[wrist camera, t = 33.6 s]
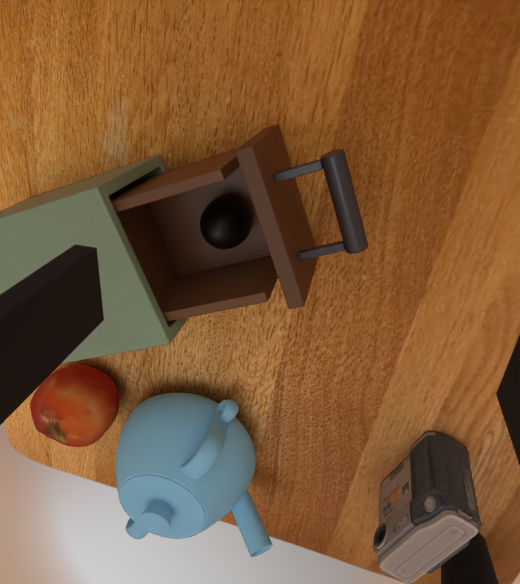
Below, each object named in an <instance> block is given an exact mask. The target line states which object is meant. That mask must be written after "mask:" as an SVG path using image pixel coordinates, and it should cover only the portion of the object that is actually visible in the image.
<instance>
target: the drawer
mask: <svg viewBox="0 0 520 584" xmlns="http://www.w3.org/2000/svg"><path fill="white" fill-rule="evenodd" d="M322 169H324V173H325V176H326V180H327V184H328V187H329V191H330V195H331V198H332V202H333V206H334V209H335V213H336V217H337V220H338V224H339V228H340V231H341V235H342V239H343V241H339V242H335V243H330V244H326V245H322V246H317V247H315V244H314V241H313V238H312V234H311V231H310V228H309V224H308V221H307V218H306V214H305V211H304V208H303V204H302V201H301V198H300V194H299V191H298V188H297V184H296V181H295V178H294V177H297V176H301V175H304V174H308V173H311V172H315V171H318V170H322ZM222 196H233V197H236V198H238V199H240V200H242V201H243V202H244V203H245V204H246V205H247V206H248V208H249V210H250V212H251V215H252V228H251V231H250V233H249V235H248V237H247V238H246V239H245V240H244V241H243V242H242V243H241V244H240V245H238V246H236V247H234V248H230V249H218V248H215V247H213V246H211V245H210V244H208V243H207V242H206V241H205V239H204V238H203V236H202V233H201V230H200V219H201V215H202V213H203V211H204V209H205V207H206V206H207V205H208V204H209V203H210V202H211V201H213V200H214V199H216V198H218V197H222ZM109 199H110V201H111V203H112V205H113V207H114V209H115V212H116V214H117V216H118V218H119V220H120V222H121V225H122V227H123V229H124V231H125V233H126V236H127V238H128V240H129V242H130V244H131V246H132V249H133V251H134V253H135V255H136V257H137V259H138V262H139V264H140V266H141V268H142V270H143V272H144V275H145V277H146V279H147V281H148V283H149V285H150V288H151V290H152V292H153V294H154V296H155V298H156V301H157V303H158V305H159V307H160V309H161V312H162V314H163V316H164V318H165V320H166V322H167V321H172V320H177V319H182V318H187V317H192V316H197V315H202V314H207V313H212V312H217V311H222V310H227V309H233V308H238V307H243V306H248V305H253V304H258V303H263V302H267V301H268V300H269V297H270V295H271V293H272V290H273V288H274V286H275V283H276V281H277V279H278V278H279V281H280V284H281V287H282V290H283V293H284V296H285V299H286V302H287V305H288V308H289V309H292V308H297V307H302V306H305V302H306V298H307V295H308V291H309V288H310V284H311V281H312V277H313V274H314V270H315V267H316V263H317V260H318V256H322V255H327V254H331V253H336V252H340V251H344V250H345V249H346V252H347V253H349V254H354V253H359V252H362V251H364V250H366V249H367V248H368V243H367V239H366V235H365V231H364V227H363V223H362V219H361V215H360V211H359V207H358V203H357V199H356V195H355V191H354V187H353V183H352V179H351V175H350V171H349V168H348V164H347V160H346V156H345V152H344V150H343V149H340V150H335V151H331V152H328V153H326V154H324V155H322V156H321V159H319V160H315V161H312V162H309V163H305V164H302V165H298V166H295V167H292V168H291V164H290V161H289V158H288V154H287V151H286V148H285V144H284V141H283V138H282V134H281V131H280V128H279V125H278V124H277V125H274V126H271V127H268V128H265V129H264V130H262V131H261V132H260V133H258V134H257V135H256V136H254V137H253V138H252V139H250V140H249V141H248V142H247V143H245V144H244V145H243V146H241V147H240V148H238V149H235V150H232V151H229V152H226V153H222V154H219V155H216V156H213V157H210V158H207V159H204V160H200V161H197V162H194V163H191V164H188V165H185V166H182V167H179V168H175V169H172V170H169V171H166V172H163V173H160V174H157V175H153V176H150V177H147V178H144V179H141V180H138V181H135V182H133V183H131V184H130V185H128V186H126V187H124V188H123V189H121V190H119V191H117V192H116V193H114V194H112V195H111V196H109Z"/></svg>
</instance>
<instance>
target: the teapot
mask: <svg viewBox="0 0 520 584" xmlns="http://www.w3.org/2000/svg"><path fill="white" fill-rule="evenodd" d="M238 411H239V407H238V405H237V403H236V402H235V401H234V400H230V399H226V400H223V401H222V402H221V403H220V404H219V403H217V402H216V401H214V400H211V399H209V398H207V397H204V396H201V395H197V394H191V393H179V392H177V393H165V394H160V395H156V396H153V397H150V398H149V399H147V400H145V401H143V402H142V403H140V404H139V405H138V406H136V407H135V408H134V410H133V411H132V412H131V414H130V415H129V417H128V419H127V420H126V422H125V424H124V426H123V429H122V431H121V434H120V437H119V441H118V445H117V452H116V481H117V489H118V494H119V499H120V502H121V505H122V507H123V509H124V510H125V512H126V513H127V514H128V516H129V517H130V519H129V521H128V523H127V525H126V531H127V533H128V534H129V535H130V536H131V537H133V538H135V539H142V538H143V537H145V536H146V535H147V534H148V532H150V533H152V534H156V535H159V536H162V537H167V538H174V539H180V538H188V537H192V536H194V535H196V534H198V533H200V532H202V531H204V530H206V529H207V528H209V527H210V526H211V525H213V524H214V523H216V522H217V521H218V520H220V519H221V518H222V517H224V516H225V515H226V514H227V513H228V512H230V511H232V513H233V515H234V518H235V520H236V522H237V525H238V527H239V529H240V532H241V534H242V537H243V539H244V541H245V544H246V546H247V548H248V551H249V553H250V555H251V557H255V556H258V555H260V554H262V553H264V552H265V551H267V550H269V549H270V548H271V547H272V546H273V545H272V543H271V540H270V538H269V536H268V534H267V532H266V529H265V527H264V525H263V523H262V521H261V518H260V516H259V514H258V512H257V510H256V507H255V505H254V503H253V501H252V499H251V496H250V494H249V492H248V490H247V488H248V486H249V484H250V483H251V480H252V477H253V474H254V472H255V467H256V454H255V448H254V445H253V442H252V440H251V438H250V436H249V434H248V432H247V431H246V429H245V428H244V426H243V425H242V424H241V422H240V421H239V420H238V419H237V418H236V417H235V416H236V415H237V413H238Z"/></svg>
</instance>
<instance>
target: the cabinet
mask: <svg viewBox="0 0 520 584" xmlns="http://www.w3.org/2000/svg"><path fill="white" fill-rule="evenodd" d="M163 172H166V168H165V166H164V163H163V161H162V158H161V156H160V155H156V156H153V157H150V158H147V159H144V160H141V161H138V162H135V163H132V164H129V165H126V166H123V167H120V168H117V169H114V170H111V171H108V172H105V173H102V174H99V175H96V176H93V177H90V178H87V179H84V180H81V181H78V182H75V183H72V184H69V185H66V186H63V187H60V188H57V189H54V190H51V191H48V192H45V193H42V194H39V195H36V196H33V197H30V198H28V199H26V200H24V201H21V202H19V203H17V204H15V205H12V206H10V207H8V208H6V209H4V210H1V211H0V294H2V293H3V292H5V291H6V290H8V289H9V288H11V287H12V286H14V285H15V284H17V283H18V282H20V281H21V280H23V279H24V278H26V277H27V276H29V275H30V274H32V273H33V272H35V271H36V270H38V269H39V268H41V267H42V266H44V265H45V264H47V263H48V262H50V261H51V260H53V259H54V258H56V257H57V256H59V255H60V254H62V253H63V252H65V251H66V250H68V249H69V248H71V247H72V246H73V245H75V244H76V245H82V246H88V247H94V248H97V256H98V266H99V275H100V285H101V295H102V305H103V315H104V320H103V321H102V322H101V323H100V325H99V326H98V327H97V328H96V329H95V330H94V331H93V332H92V333H91V334H90V335H89V336H88V337H87V338H86V339H85V340H84V341H83V342H82V343H81V344H80V345H79V346H78V347H77V348H76V349H75V350H74V351H73V352H72V353H71V354H70V355H69V356H68V357H67V358H66V359H65V360H64V361H63V362H62V363H67V362H73V361H78V360H84V359H89V358H95V357H101V356H106V355H112V354H117V353H123V352H129V351H134V350H140V349H145V348H151V347H157V346H162V345H168V344H170V343H171V342H172V340H173V339H174V338H175V336H176V335H177V333H178V332H179V331H180V329H181V328H182V326H183V325H184V323H185V322H186V320H187V319H188V317H187V318H182V319H177V320H172V321H167V322H166V320H165V318H164V316H163V314H162V312H161V309H160V307H159V305H158V303H157V301H156V298H155V296H154V294H153V292H152V290H151V288H150V285H149V283H148V281H147V279H146V277H145V275H144V272H143V270H142V268H141V266H140V264H139V262H138V259H137V257H136V255H135V253H134V251H133V249H132V246H131V244H130V242H129V240H128V238H127V236H126V233H125V231H124V229H123V227H122V225H121V222H120V220H119V218H118V216H117V214H116V212H115V209H114V207H113V205H112V203H111V201H110V199H109V196H111V195H112V194H114V193H116V192H117V191H119V190H121V189H123V188H124V187H126V186H128V185H130V184H131V183H133V182H135V181H138V180H141V179H144V178H147V177H150V176H153V175H157V174H160V173H163Z"/></svg>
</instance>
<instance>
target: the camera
mask: <svg viewBox="0 0 520 584" xmlns="http://www.w3.org/2000/svg"><path fill="white" fill-rule="evenodd" d="M473 483H474V482H473V480H472V474H471V470H470V462H469V453H468V451H467V449H466V447H462V446H461V445H459V444H457V443H456V442H454V439H453V438H452V437H449V436H447V435H446V436H445V435H442V434H439V433H436V432H427V433H425V434H424V435H423V436H422V437H421V438H420V439H419V440H418V441H417V442H416V443H415V444H414V445H413V446H412V447H411V449H410V455H409V456H408V458H406V459H405V460H404V461H403V462H402V463H401V464H400V465H399V466H398V467H397V468H396V469H395V470H394V471H393V472H392V473H391V474H390V475H389V476H388V477H387V478H386V479H385V480H384V481H383V482H382V485H381V488H380V496H379V526H378V528H377V530H376V532H375V535H374V539H373V549H374V552H375V553H377V554H378V566H379V568H380V569H381V570H382V571H384V572H386V573H387V574H389V575H390V574H391V575H393V576H394V577H396V578H398V579H400V580H402V581H403V582H405V583H408V584H410V583H413V582H414V581H416V580H417V579H418V578H419V577H421V576H422V575H423V574H425V573H426V572H427V573H432V572H433V571H435V570H436V569H437V568H439V567H440V566H441V565H443V564H444V563H445V562H446V561H448V560H449V559H451V558H452V557H453V556H454V555H456V554H457V553H458V552H460V551H461V550H462V549H464V548H465V547H467V546H468V545H469V543H470V539H471V538H473V537H474V536H475V535H476V534H477V533H478V529H480V527H481V526H482V524H481V520H480V517H479V513H478V506H477V504H476V503H477V500H476V495H475V489H474V484H473Z"/></svg>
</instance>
